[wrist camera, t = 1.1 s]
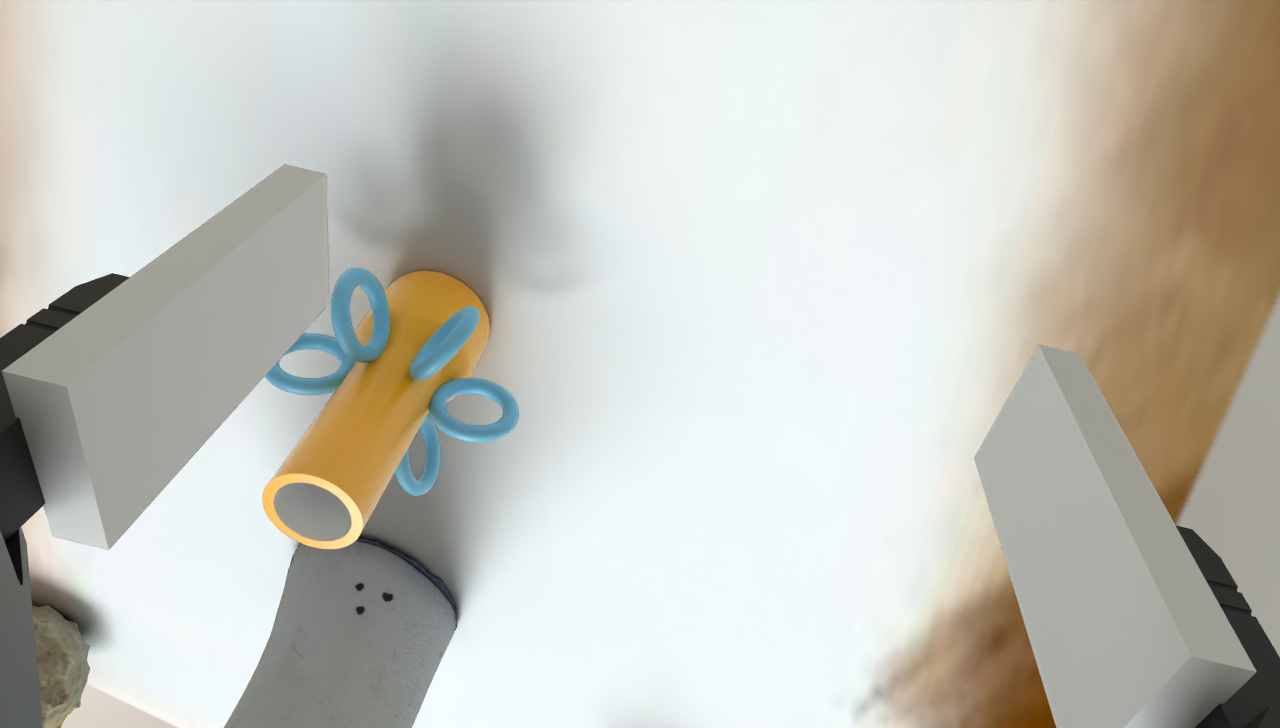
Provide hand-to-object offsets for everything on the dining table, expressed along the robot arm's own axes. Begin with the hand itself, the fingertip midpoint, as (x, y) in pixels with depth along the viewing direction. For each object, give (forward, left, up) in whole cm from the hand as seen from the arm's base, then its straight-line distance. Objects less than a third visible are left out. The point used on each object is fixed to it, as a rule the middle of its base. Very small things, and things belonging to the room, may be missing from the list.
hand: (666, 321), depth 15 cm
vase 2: (-6, -20, -24) cm, 32 cm away
